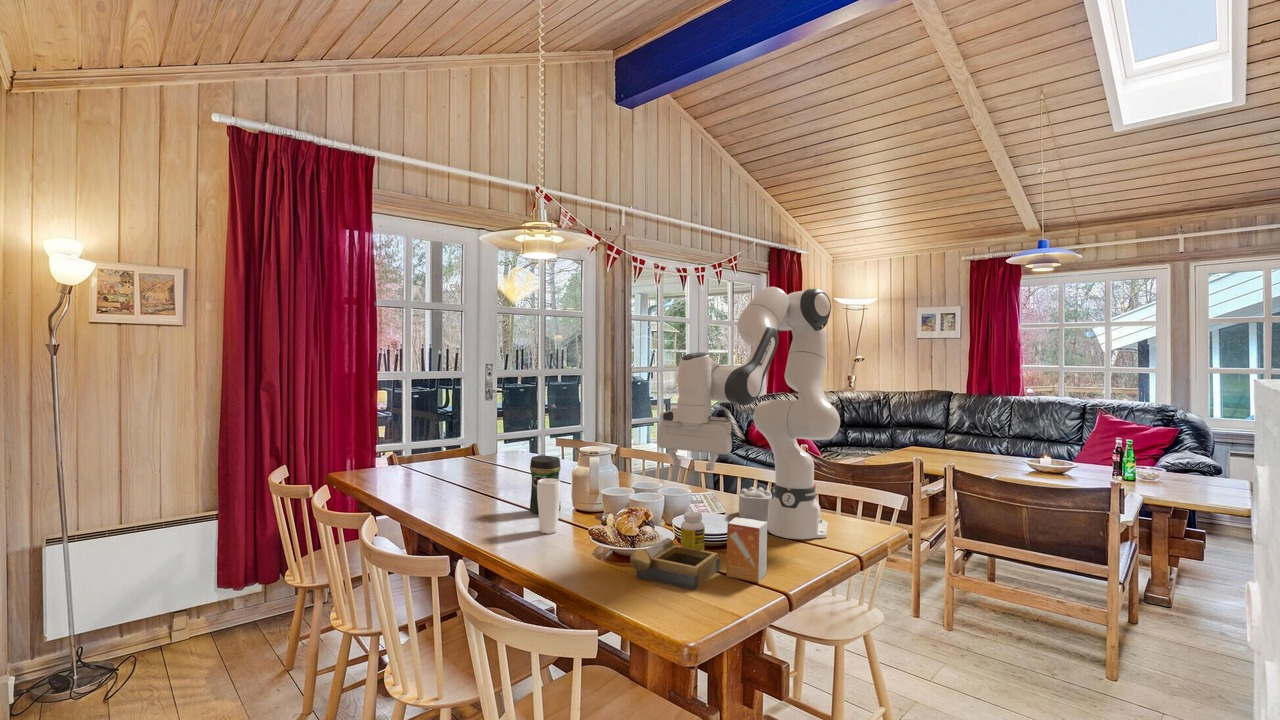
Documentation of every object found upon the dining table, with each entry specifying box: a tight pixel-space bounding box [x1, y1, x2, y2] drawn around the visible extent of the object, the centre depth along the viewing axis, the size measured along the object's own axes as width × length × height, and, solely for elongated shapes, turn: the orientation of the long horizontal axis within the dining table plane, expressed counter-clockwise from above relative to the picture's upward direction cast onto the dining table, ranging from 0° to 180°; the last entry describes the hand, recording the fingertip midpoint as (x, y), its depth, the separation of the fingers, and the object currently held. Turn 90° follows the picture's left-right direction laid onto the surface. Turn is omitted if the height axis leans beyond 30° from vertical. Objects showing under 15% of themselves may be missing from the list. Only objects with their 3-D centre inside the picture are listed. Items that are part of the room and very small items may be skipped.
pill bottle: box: [680, 511, 706, 551], centre depth 162 cm, size 6×6×11 cm
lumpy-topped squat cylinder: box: [738, 486, 773, 522], centre depth 201 cm, size 10×13×9 cm
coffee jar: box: [529, 454, 562, 515], centre depth 202 cm, size 10×8×19 cm
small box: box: [725, 516, 768, 583], centre depth 148 cm, size 8×6×13 cm
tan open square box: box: [629, 537, 721, 591], centre depth 149 cm, size 16×16×7 cm
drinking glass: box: [537, 478, 562, 535], centre depth 182 cm, size 7×7×15 cm
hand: (693, 468), depth 161 cm, fingers open, 8 cm apart
